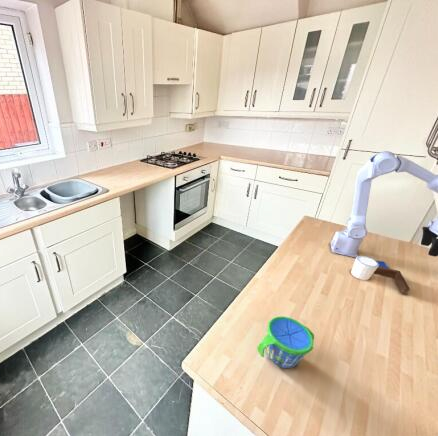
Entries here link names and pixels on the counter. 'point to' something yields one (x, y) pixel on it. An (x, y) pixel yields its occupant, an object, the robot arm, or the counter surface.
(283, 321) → the snack cup
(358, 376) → the counter surface
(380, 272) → the corner guard
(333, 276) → the counter surface
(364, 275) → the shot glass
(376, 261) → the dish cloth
